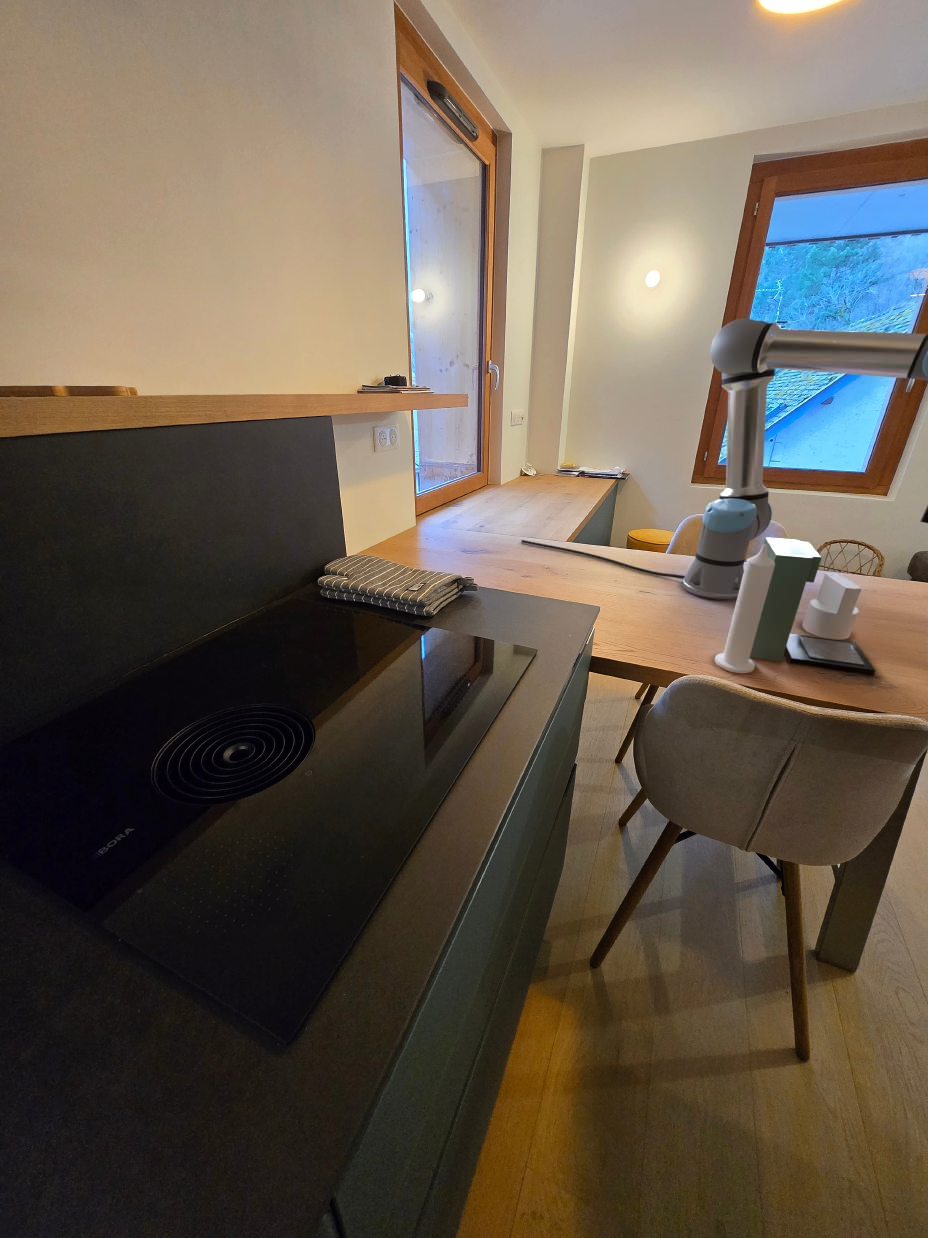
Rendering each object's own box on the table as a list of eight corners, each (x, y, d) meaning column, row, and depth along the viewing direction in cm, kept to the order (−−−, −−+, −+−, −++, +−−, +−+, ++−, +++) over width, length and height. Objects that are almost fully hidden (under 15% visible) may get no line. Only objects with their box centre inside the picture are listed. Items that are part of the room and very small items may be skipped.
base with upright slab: (794, 620, 116) (809, 572, 111) (836, 622, 115) (853, 574, 109) (813, 638, 108) (830, 587, 103) (858, 640, 107) (878, 589, 101)
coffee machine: (747, 657, 101) (776, 554, 91) (740, 631, 111) (765, 537, 101) (873, 675, 94) (918, 567, 84) (853, 646, 104) (891, 547, 95)
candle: (707, 656, 101) (735, 538, 91) (740, 654, 102) (771, 537, 91) (727, 674, 95) (758, 550, 84) (761, 672, 96) (798, 549, 85)
